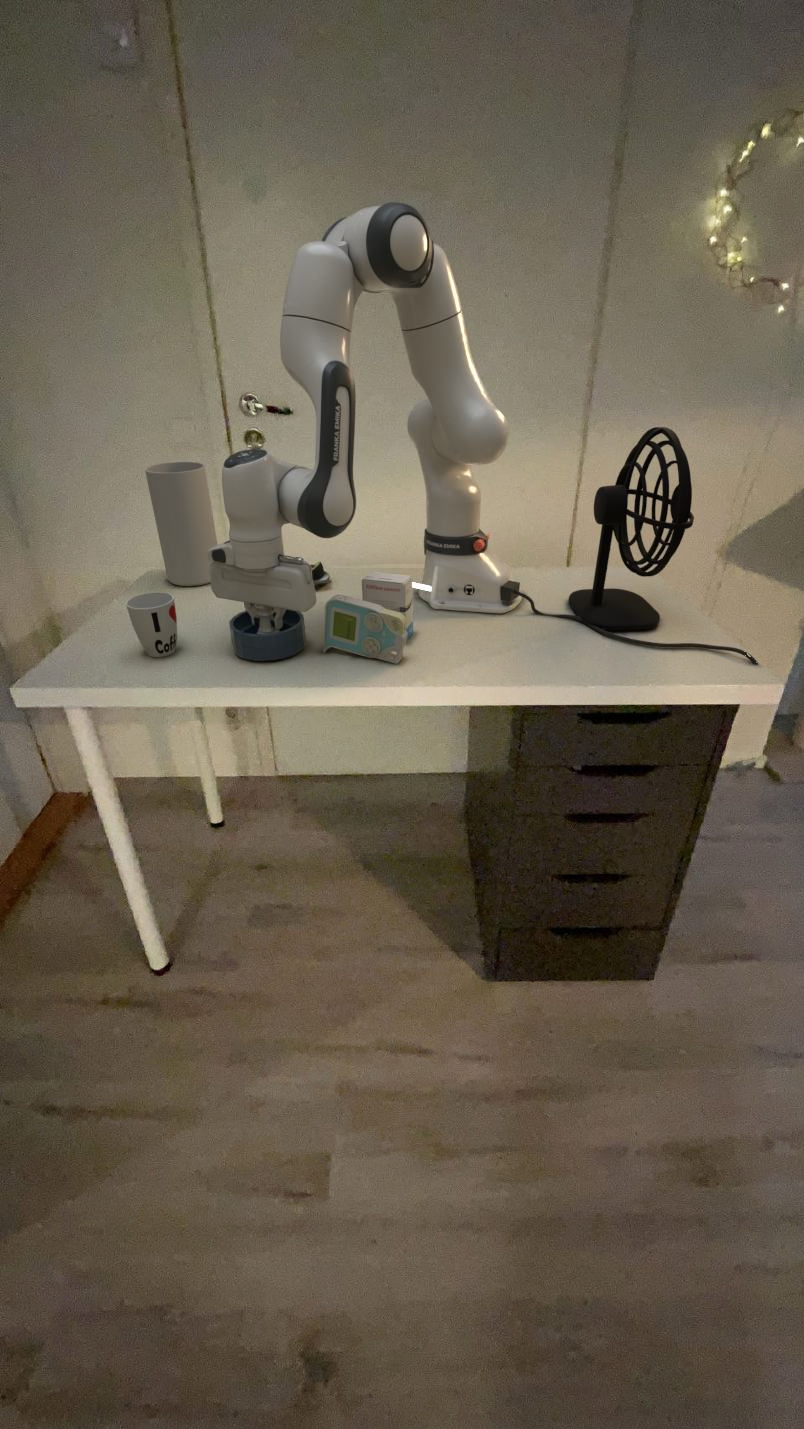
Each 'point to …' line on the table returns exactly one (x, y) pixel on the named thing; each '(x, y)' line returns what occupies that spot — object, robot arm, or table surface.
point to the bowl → (268, 637)
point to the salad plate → (319, 575)
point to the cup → (154, 622)
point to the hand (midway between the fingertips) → (267, 626)
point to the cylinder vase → (183, 520)
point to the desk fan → (636, 536)
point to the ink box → (390, 594)
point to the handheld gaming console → (364, 628)
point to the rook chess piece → (265, 620)
